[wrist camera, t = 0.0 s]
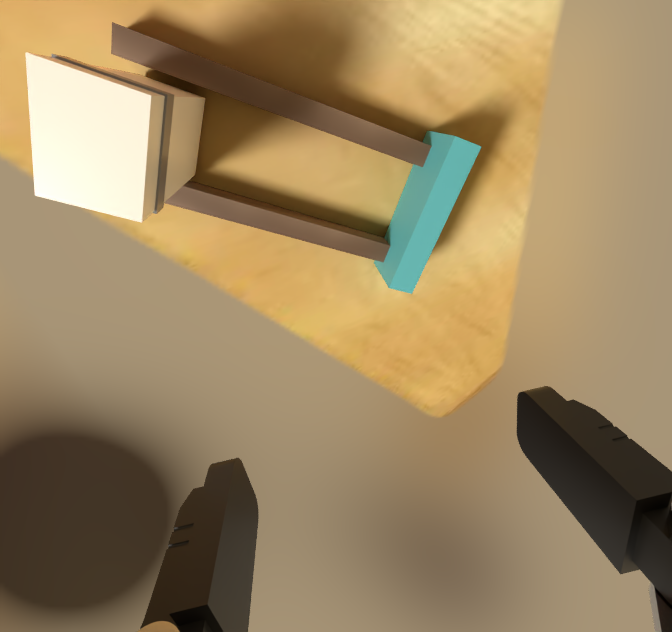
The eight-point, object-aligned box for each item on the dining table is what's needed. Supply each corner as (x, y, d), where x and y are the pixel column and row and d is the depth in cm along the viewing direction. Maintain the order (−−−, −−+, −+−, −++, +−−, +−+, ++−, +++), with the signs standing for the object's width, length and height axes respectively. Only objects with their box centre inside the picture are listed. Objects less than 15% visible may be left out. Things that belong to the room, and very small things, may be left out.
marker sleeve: (137, 71, 22) (22, 47, 12) (207, 96, 24) (154, 93, 13) (132, 157, 25) (32, 197, 15) (196, 176, 26) (144, 225, 16)
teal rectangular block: (427, 130, 27) (455, 136, 23) (449, 139, 27) (481, 146, 23) (374, 262, 32) (389, 287, 28) (394, 268, 32) (411, 293, 28)
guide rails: (125, 28, 22) (112, 22, 20) (438, 149, 28) (449, 152, 26) (119, 181, 26) (107, 187, 24) (393, 258, 32) (399, 266, 30)
